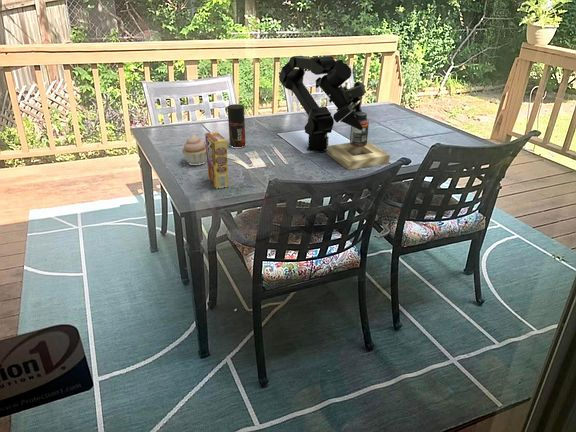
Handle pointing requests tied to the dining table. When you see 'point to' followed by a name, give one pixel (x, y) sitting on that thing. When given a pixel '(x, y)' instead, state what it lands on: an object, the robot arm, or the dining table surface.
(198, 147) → the cupcake
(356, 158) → the socket block
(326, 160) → the dining table surface
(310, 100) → the robot arm
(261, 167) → the dining table surface
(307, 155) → the dining table surface
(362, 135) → the supplement bottle
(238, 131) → the deodorant
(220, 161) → the candy box
